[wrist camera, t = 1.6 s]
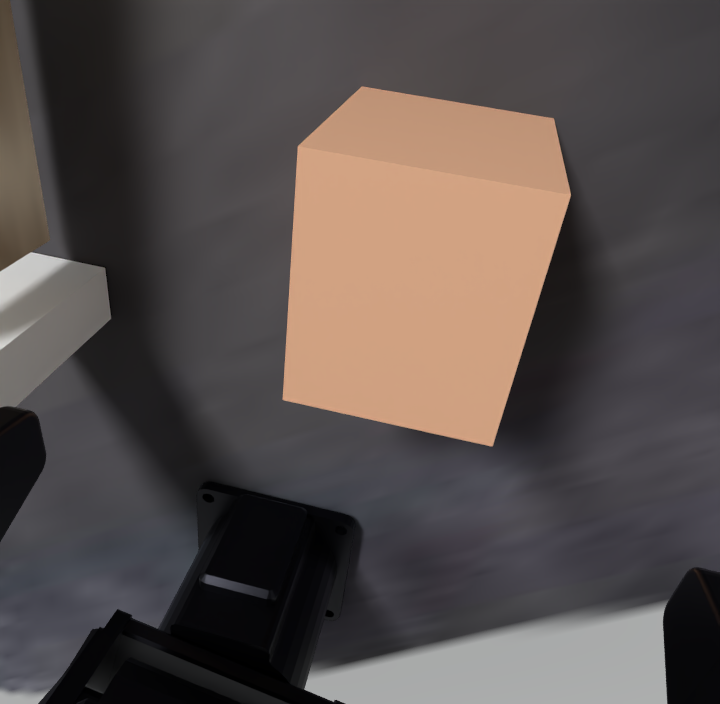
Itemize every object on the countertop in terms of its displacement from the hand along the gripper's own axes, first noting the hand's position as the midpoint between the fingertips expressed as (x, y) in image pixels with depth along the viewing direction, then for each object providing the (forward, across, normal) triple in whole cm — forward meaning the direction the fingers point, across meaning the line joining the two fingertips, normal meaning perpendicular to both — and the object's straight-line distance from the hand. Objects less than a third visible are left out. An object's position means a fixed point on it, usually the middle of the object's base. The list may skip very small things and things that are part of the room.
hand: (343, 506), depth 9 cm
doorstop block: (+12, 0, 0) cm, 12 cm away
